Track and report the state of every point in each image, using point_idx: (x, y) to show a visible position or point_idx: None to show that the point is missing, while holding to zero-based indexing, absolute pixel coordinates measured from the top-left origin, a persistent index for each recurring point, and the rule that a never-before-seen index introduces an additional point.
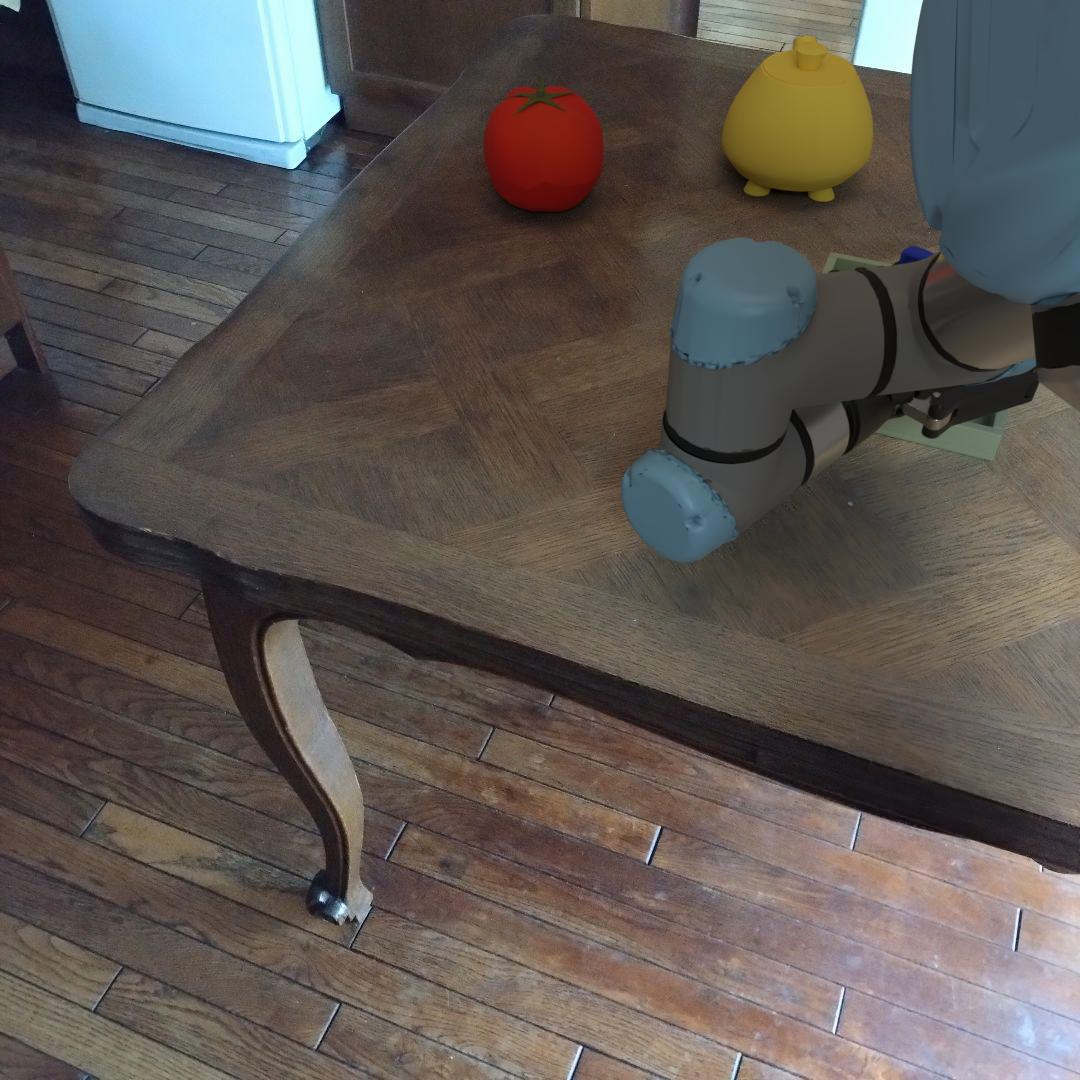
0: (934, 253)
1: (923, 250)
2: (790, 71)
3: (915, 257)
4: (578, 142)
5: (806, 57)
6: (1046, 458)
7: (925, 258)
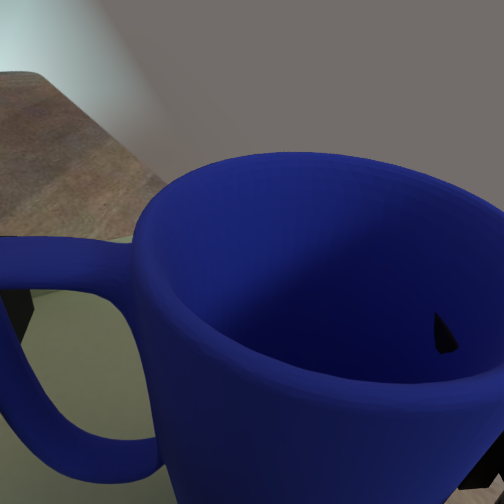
0: (60, 237)
1: (15, 243)
2: None
3: (1, 281)
4: None
5: None
6: (476, 498)
7: (44, 269)
